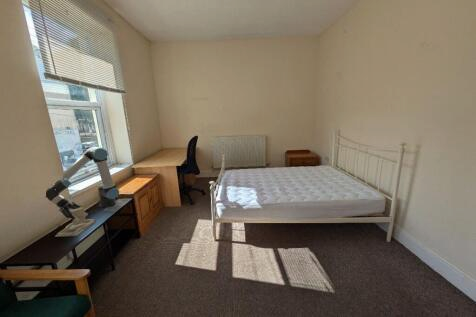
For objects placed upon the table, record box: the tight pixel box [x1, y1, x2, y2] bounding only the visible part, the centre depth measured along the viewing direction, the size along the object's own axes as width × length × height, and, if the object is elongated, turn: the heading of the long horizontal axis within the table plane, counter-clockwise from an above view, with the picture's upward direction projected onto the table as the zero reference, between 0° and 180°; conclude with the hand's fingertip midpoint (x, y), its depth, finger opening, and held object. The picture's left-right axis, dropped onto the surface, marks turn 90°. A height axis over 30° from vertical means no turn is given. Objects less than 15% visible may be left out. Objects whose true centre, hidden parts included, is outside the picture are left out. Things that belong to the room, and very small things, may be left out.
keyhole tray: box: [54, 218, 96, 238], centre depth 169 cm, size 22×17×2 cm
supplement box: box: [70, 206, 87, 225], centre depth 172 cm, size 8×5×13 cm, turn 135°
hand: (82, 218), depth 173 cm, fingers closed on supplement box, 9 cm apart
